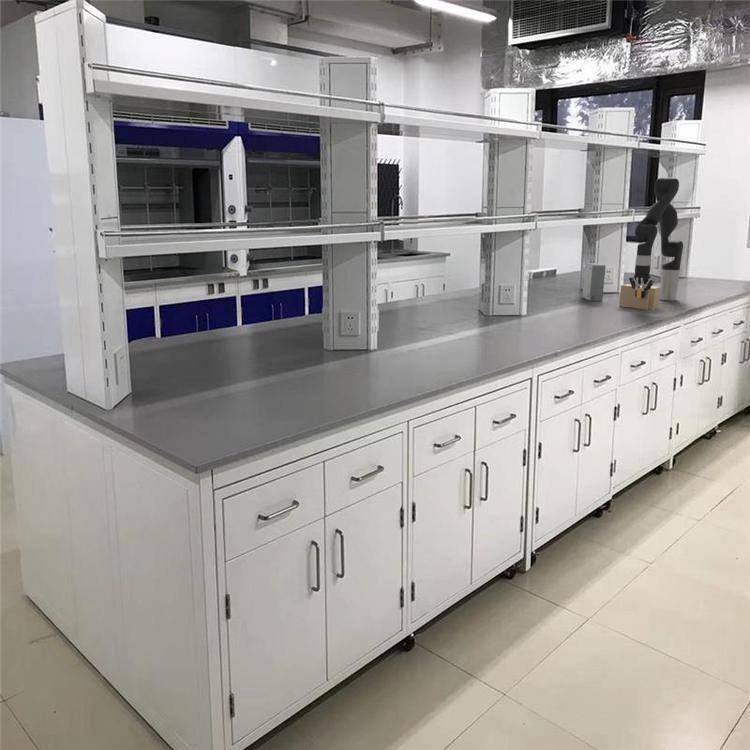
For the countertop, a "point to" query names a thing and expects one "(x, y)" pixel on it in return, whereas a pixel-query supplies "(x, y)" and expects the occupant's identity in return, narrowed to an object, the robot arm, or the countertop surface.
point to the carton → (652, 297)
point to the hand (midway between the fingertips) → (640, 297)
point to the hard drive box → (593, 281)
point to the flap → (633, 297)
